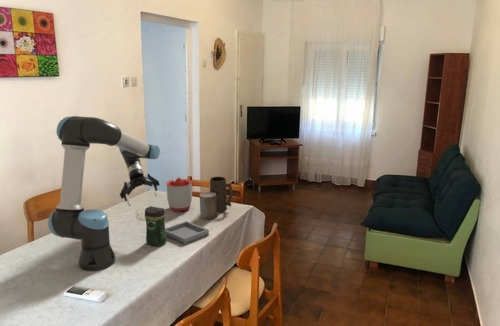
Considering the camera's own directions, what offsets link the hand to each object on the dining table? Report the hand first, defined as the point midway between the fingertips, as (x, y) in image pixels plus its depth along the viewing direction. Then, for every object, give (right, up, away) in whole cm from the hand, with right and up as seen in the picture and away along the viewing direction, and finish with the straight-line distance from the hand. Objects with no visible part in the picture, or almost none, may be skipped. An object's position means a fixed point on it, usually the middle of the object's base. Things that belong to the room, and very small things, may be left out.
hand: (142, 199), depth 198 cm
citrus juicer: (+10, -10, +49) cm, 51 cm away
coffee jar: (+7, -22, -1) cm, 23 cm away
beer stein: (+36, -11, +47) cm, 61 cm away
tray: (+20, -19, +9) cm, 29 cm away
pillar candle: (+29, -14, +35) cm, 48 cm away
